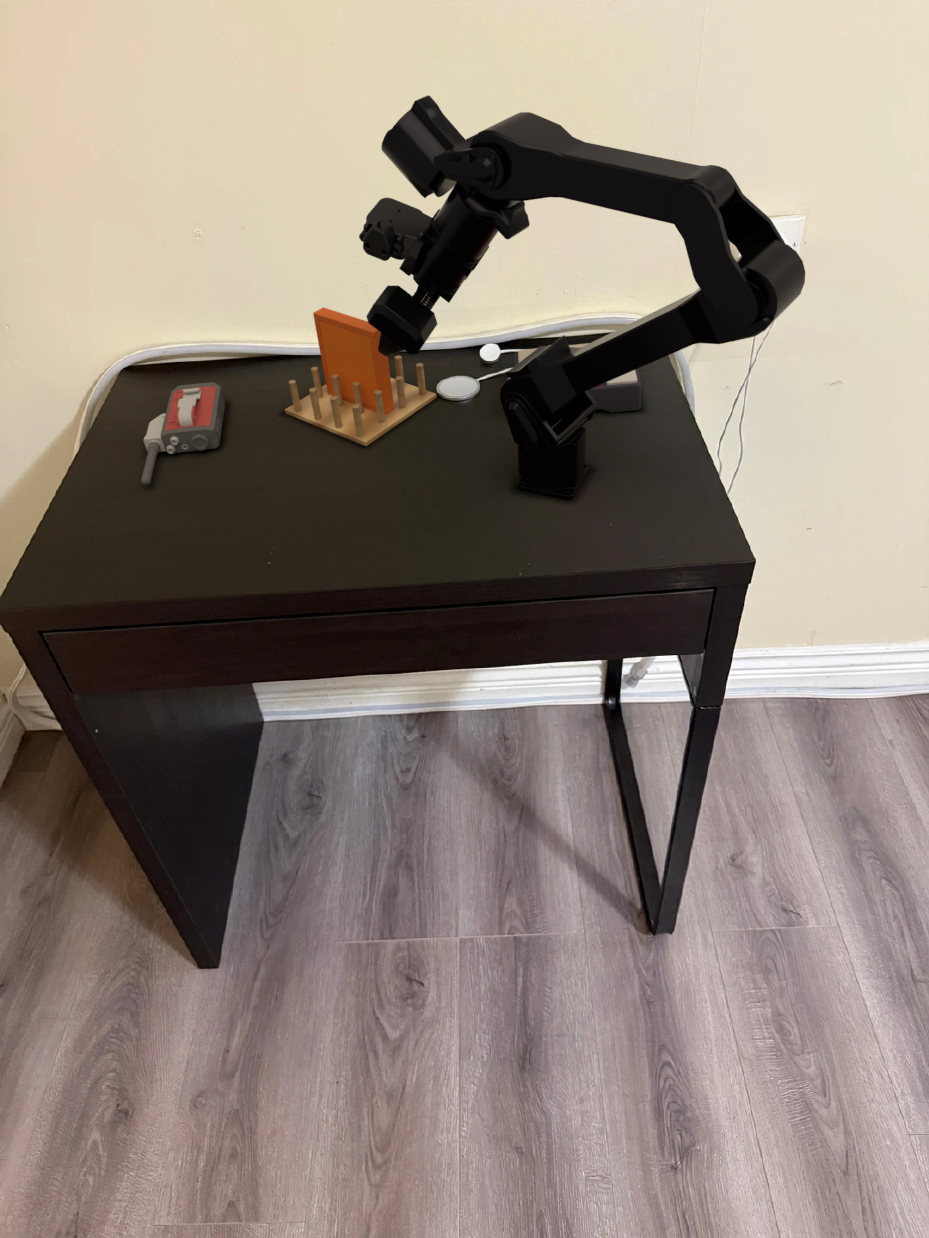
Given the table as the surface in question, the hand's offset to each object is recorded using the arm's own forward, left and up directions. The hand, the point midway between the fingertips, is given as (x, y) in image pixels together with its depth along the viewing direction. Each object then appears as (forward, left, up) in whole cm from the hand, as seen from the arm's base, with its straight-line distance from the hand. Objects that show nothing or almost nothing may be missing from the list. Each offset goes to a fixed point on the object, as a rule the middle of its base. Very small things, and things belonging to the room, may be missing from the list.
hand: (399, 328), depth 101 cm
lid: (+9, -3, -13) cm, 16 cm away
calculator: (-16, -15, -13) cm, 26 cm away
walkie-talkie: (+25, +12, -13) cm, 31 cm away
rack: (+9, -3, -13) cm, 16 cm away
